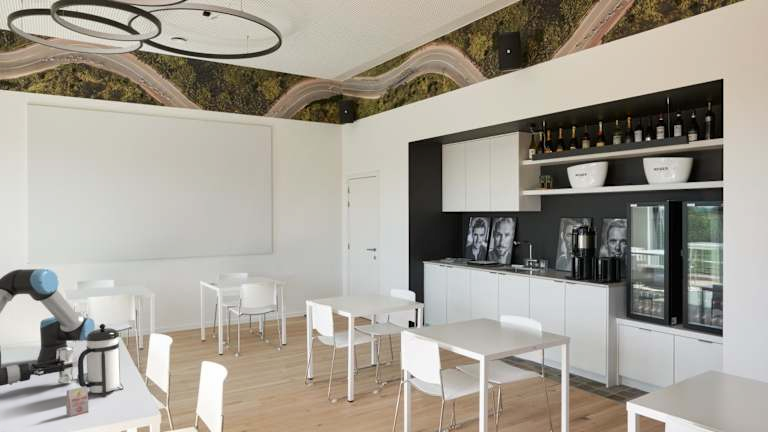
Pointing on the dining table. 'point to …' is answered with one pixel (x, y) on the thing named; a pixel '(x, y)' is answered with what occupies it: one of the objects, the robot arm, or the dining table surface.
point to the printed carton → (77, 401)
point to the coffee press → (101, 361)
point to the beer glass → (64, 357)
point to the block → (85, 377)
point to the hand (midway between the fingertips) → (77, 361)
